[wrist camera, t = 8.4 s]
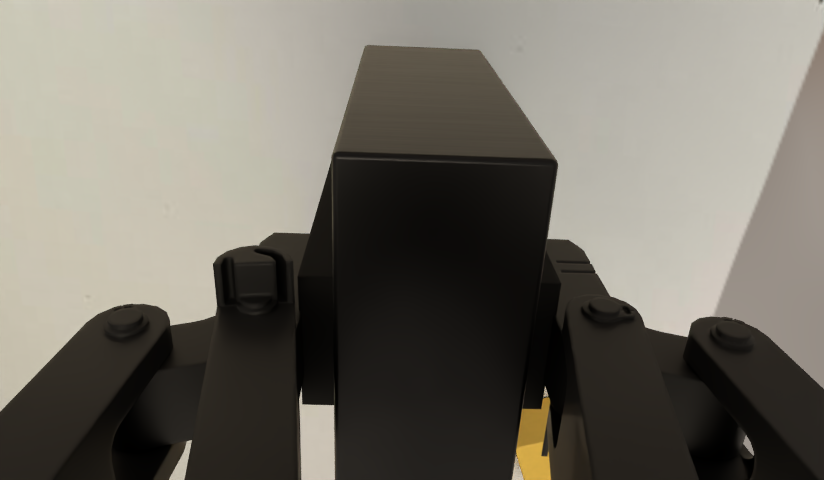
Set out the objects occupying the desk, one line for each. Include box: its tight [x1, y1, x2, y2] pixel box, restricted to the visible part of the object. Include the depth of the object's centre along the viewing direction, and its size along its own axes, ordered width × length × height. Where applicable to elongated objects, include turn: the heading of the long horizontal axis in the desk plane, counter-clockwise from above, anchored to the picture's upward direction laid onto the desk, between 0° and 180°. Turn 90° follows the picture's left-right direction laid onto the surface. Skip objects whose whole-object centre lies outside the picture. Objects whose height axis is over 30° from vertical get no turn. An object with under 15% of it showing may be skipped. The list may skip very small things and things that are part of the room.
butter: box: [516, 397, 551, 480], centre depth 38 cm, size 5×5×4 cm
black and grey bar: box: [331, 45, 558, 480], centre depth 16 cm, size 18×3×9 cm, turn 178°
